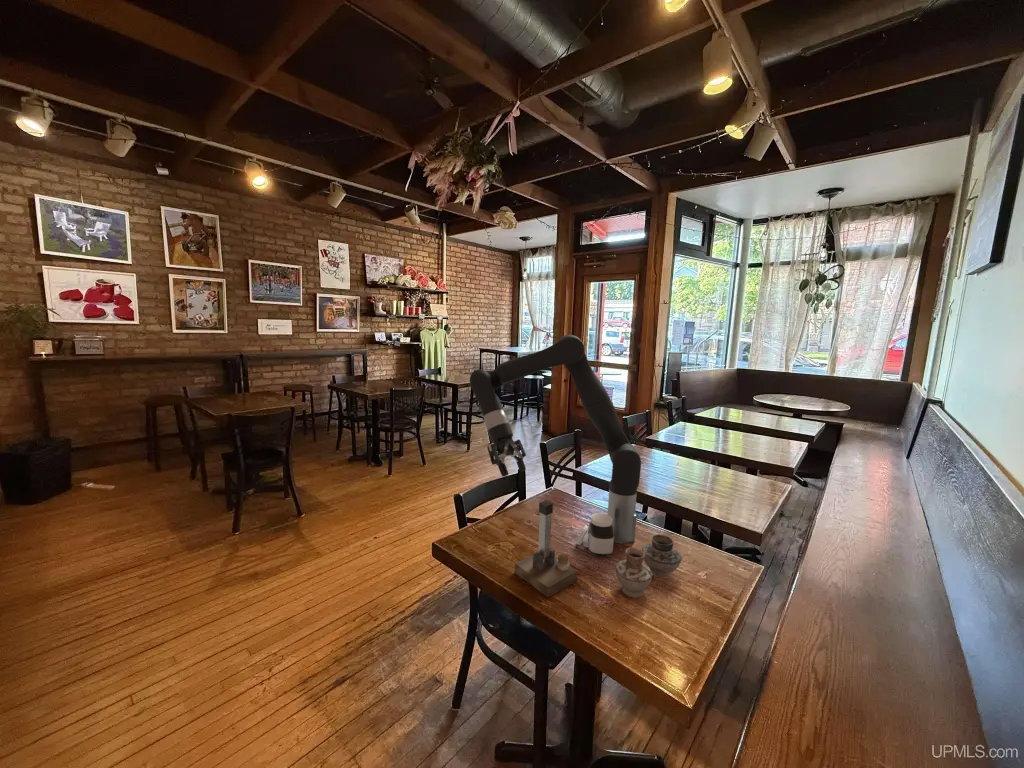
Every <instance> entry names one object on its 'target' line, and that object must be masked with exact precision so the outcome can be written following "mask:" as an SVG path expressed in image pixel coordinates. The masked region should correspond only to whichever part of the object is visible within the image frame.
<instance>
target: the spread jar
mask: <svg viewBox="0 0 1024 768" xmlns="http://www.w3.org/2000/svg"><path fill="white" fill-rule="evenodd" d="M586 534H587V548H588V552H590V554H591V555H593V556H596V557H602V558H603V557H604V558H605V557H609V556H610V555H612V553H613V550H614V531H613V526H612V517H611V516H609V515H608V513H603V512H597V513H593V514H592V515H591V516H590V521H589V522H588V525H587V524H585V525H584V526H583V528H582V530H581V531H580V534H579V536H578V538H577V541H576V545H578V546H581V545H582V542H583V541H584V539H585V537H586Z"/></svg>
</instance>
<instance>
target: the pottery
mask: <svg viewBox="0 0 1024 768" xmlns="http://www.w3.org/2000/svg"><path fill="white" fill-rule="evenodd" d="M625 555H626V559H624V560H621V561H619V562H618V563H616V564H615V569H614V570H615V574H616V577H617V580H618V581H619V583H620V585H621V591H622V592H623V594H624V595H626V596H628V597H629V598H635V599H637V597H638V598H641V597H642V596H643V595H644V591H645V590H646V589H647V588H648V586H649V585H650V584H651V581H652V578H653V576H655V577H657V578H661V579H666V578H669V577H670V574H672V573H673V572H675V571H676V570H677V569H678V568H679V566H680V564H681V563H682V555H681V553H680V552H679V551H678V550H677V549H676V548H675V547H674V539H673V538H671V537H670V536H669V535H665V534H660V533H658V534H654V535H652V536H651V542H649V543H646V544H644V545H642V549H640V548H637V547H628V548H626V549H625ZM643 562H645V563H643Z"/></svg>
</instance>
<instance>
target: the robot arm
mask: <svg viewBox="0 0 1024 768" xmlns="http://www.w3.org/2000/svg"><path fill="white" fill-rule="evenodd" d="M585 350H586V348H585V344H584V342H583V341H582V339H581V338H580V337H578V336H576V335H573V334H565V335H562V336H561V337H560V338H559V339H558V340H557V341H556V343H554V344H552V345H550V346H548V347H546V348H543V349H542V350H539V351H536V352H533V353H529V354H525V355H521V356H518V357H515V358H512V359H509V360H507V361H503V362H502V363H499V364H497V366H496V368H495V369H493V370H491V371H489V372H488V371H486V370H484V369H482V368H481V369H480V368H478V369H475V370H473V372H472V373H470V377H469V384H470V387H471V390H472V392H473V394H474V396H475V398H476V399H477V401H478V404H479V407H480V411H481V413H482V416H483V420H484V425H485V427H486V431H487V433H488V436H489V439H490V442H491V443H492V444H490V445H488V446H487V452H488V455H489V459H490V461H491V464H492V465H495V466H496V465H497V466H498V470H499V473H500V475H501V476H502V477H503V478H504V477H507V476H508V475H509V471H508V468H507V465H506V463H505V459H506V457H509V456H510V458H513V459H514V460H515V462H516V465H517V467H518V468H517V469H518V470H519V472H520V473H523V472H525V471H526V469H527V468H526V465H525V462H524V458H525V457H526V456H527V454H526V451H525V449H524V446H523V444H522V442H521V440H520V439H517V440H514V439H513V436H514V432H513V431H512V430H513V429H512V428H511V424H510V421H509V420H508V417H507V414H506V412H505V411H504V407H503V405H502V402H501V400H500V398H499V396H498V394H497V393H496V392H495V390H498V389H499V388H501V387H503V386H504V385H506V384H508V383H509V384H510V383H512V382H514V381H517V380H520V379H523V378H526V377H528V376H531V375H533V374H535V373H539V372H540V371H543V370H546V369H550V368H554V367H560V366H562V365H563V366H565V368H566V370H567V371H568V373H569V374H570V376H571V378H572V381H573V384H574V387H575V389H576V393H577V395H578V397H579V400H580V402H581V405H582V406H583V408H584V411H585V412H586V414H587V416H588V418H589V419H590V421H591V423H592V424H593V426H594V427H595V428H596V430H597V431H598V433H599V434H600V436H601V437H602V441H603V442H604V444H605V447H606V448H607V449H606V451H607V452H608V455H609V458H610V461H611V464H612V469H611V480H610V481H609V486H608V487H609V488H608V503H607V515H609V516H611V517H612V526H613V531H614V541H613V543H618V544H628V543H629V544H630V543H635V541H636V526H637V513H636V508H637V506H636V505H637V494H638V493H637V492H638V487H639V486H640V479H641V469H642V458H641V457H640V454H639V453H638V451H637V450H636V448H635V447H634V445H633V444H632V443H631V442H630V440H629V439H628V437H627V435H626V434H625V432H624V431H623V428H622V426H621V423H620V420H619V417H618V413H617V410H616V407H615V406H614V403H613V401H612V399H611V397H610V396H609V393H608V390H606V388H605V386H604V385H603V383H602V381H601V380H600V379H599V377H598V376H597V374H596V372H594V370H593V369H592V366H591V365H590V362H589V360H588V358H587V355H586V352H585Z"/></svg>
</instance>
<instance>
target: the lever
mask: <svg viewBox="0 0 1024 768" xmlns="http://www.w3.org/2000/svg"><path fill="white" fill-rule="evenodd" d="M538 503H539V504H538V512H539V520H538V521H539V525H538V549H537V552H538V553H540V554H541V555H543V560H544V559H546V558H548V557H549V555H550V547H551V536H552V535H551V534H552V532H551V531H552V516H553V515H552V514H553V510H554V504H553V502H551V501H549V500H544V501H540V502H538Z"/></svg>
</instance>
